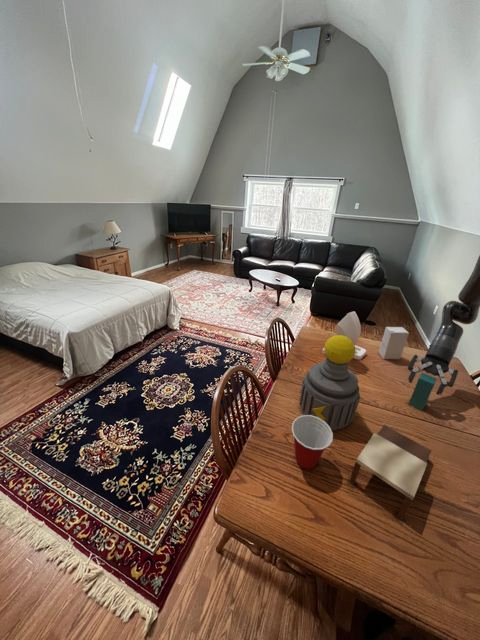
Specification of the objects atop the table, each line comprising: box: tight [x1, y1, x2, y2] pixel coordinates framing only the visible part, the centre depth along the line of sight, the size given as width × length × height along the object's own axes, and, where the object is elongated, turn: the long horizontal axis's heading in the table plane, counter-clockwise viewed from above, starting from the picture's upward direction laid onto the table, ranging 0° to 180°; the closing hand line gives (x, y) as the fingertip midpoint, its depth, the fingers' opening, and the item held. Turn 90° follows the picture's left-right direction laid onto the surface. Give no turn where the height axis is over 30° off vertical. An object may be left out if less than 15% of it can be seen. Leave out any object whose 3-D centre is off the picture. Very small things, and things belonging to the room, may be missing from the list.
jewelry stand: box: [321, 311, 367, 361], centre depth 124 cm, size 25×16×25 cm, turn 136°
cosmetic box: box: [378, 326, 410, 360], centre depth 127 cm, size 8×6×15 cm
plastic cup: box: [291, 414, 334, 470], centre depth 74 cm, size 11×11×12 cm
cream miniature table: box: [349, 424, 432, 521], centre depth 73 cm, size 13×24×9 cm, turn 135°
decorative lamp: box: [299, 334, 361, 431], centre depth 88 cm, size 19×19×30 cm
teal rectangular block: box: [408, 372, 437, 411], centre depth 97 cm, size 5×5×12 cm
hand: (423, 388), depth 96 cm, fingers open, 8 cm apart
